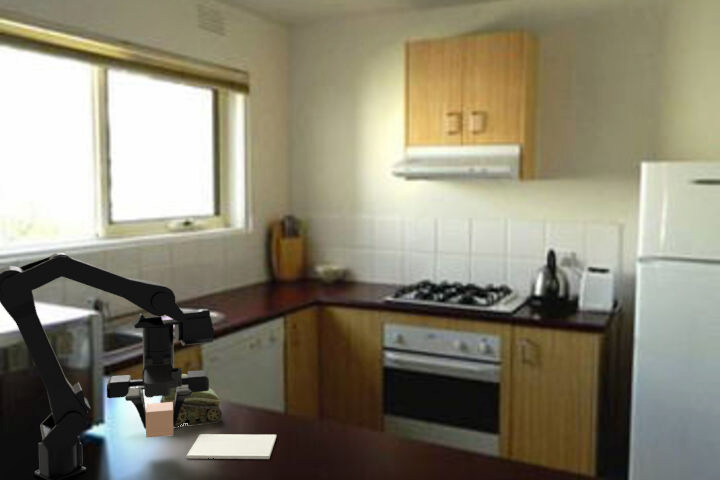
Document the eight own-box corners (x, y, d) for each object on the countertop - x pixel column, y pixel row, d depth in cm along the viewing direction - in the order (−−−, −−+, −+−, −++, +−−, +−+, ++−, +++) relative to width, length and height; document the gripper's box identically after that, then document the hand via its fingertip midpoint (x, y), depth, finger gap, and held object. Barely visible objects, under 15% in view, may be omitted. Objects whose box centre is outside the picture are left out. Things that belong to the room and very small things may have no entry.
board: (186, 458, 131) (186, 455, 130) (200, 436, 141) (200, 434, 141) (269, 458, 130) (269, 455, 130) (276, 437, 141) (276, 434, 141)
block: (146, 437, 129) (145, 412, 128) (147, 428, 134) (146, 403, 133) (173, 435, 130) (172, 410, 130) (173, 426, 135) (173, 401, 134)
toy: (132, 418, 153) (131, 375, 152) (214, 408, 160) (214, 367, 159) (135, 433, 144) (134, 387, 143) (222, 422, 151) (221, 378, 150)
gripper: (102, 362, 120) (104, 446, 122) (209, 355, 125) (210, 437, 126) (108, 347, 131) (110, 425, 132) (207, 341, 136) (208, 417, 137)
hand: (159, 426), depth 132 cm, fingers closed on block, 5 cm apart
